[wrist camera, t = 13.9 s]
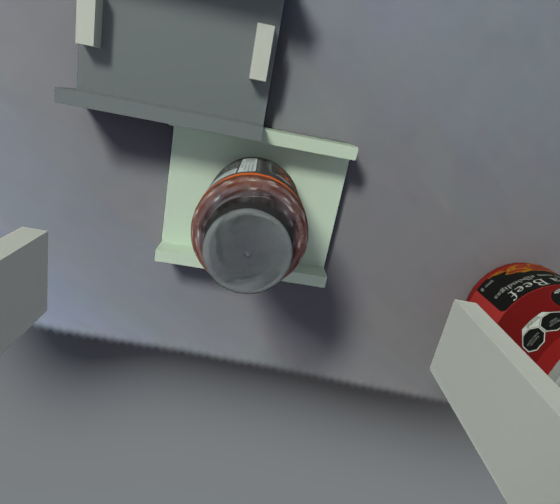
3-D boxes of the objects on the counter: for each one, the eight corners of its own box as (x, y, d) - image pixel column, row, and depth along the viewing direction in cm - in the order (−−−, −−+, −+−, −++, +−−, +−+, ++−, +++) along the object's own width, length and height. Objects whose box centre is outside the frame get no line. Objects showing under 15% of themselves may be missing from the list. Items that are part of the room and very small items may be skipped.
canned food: (569, 259, 33) (711, 334, 22) (544, 351, 35) (660, 456, 25) (469, 257, 32) (567, 332, 22) (452, 350, 35) (531, 456, 25)
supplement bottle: (312, 214, 30) (340, 278, 19) (239, 255, 31) (226, 338, 20) (269, 137, 28) (274, 160, 18) (192, 182, 29) (151, 231, 18)
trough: (350, 143, 29) (358, 147, 27) (319, 273, 32) (324, 288, 30) (177, 110, 28) (169, 111, 26) (163, 248, 31) (154, 260, 29)
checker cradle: (289, -28, 26) (293, -50, 22) (261, 136, 29) (261, 141, 25) (89, -74, 25) (58, -105, 21) (82, 101, 28) (54, 102, 24)
